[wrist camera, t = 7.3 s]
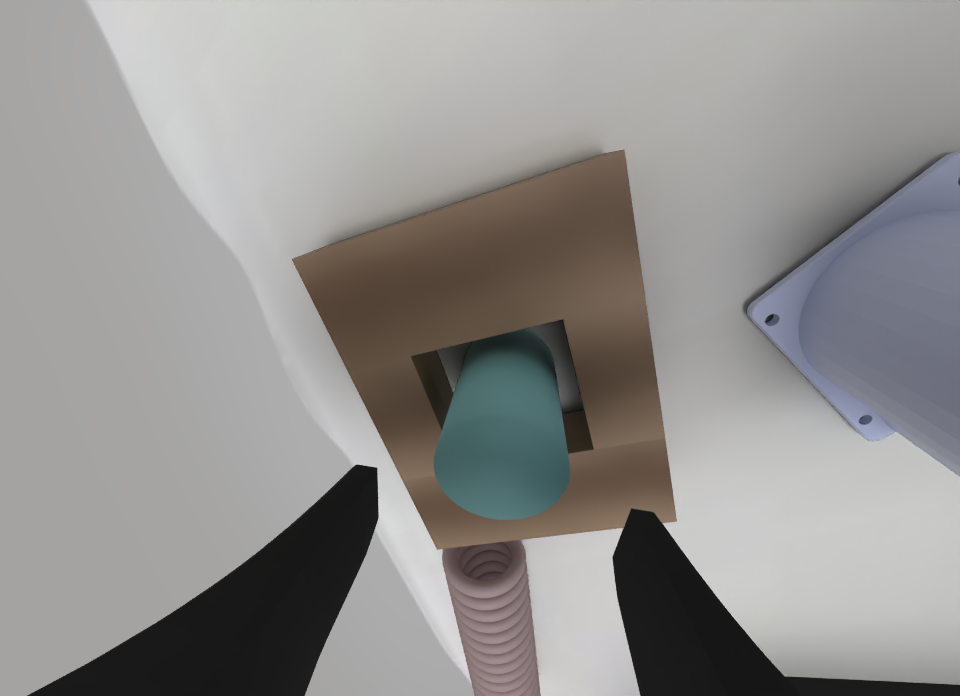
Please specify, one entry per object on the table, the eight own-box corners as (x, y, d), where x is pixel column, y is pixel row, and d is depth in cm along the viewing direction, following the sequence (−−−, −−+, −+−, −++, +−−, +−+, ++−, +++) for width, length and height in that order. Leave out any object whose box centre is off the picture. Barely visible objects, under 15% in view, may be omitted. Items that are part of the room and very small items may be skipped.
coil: (546, 749, 26) (528, 580, 19) (479, 753, 26) (435, 587, 19) (537, 669, 30) (520, 505, 23) (480, 673, 31) (444, 512, 23)
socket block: (656, 474, 20) (676, 521, 18) (447, 504, 23) (437, 549, 20) (605, 153, 14) (624, 149, 11) (329, 244, 17) (291, 259, 14)
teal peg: (573, 368, 18) (599, 474, 12) (510, 420, 20) (504, 538, 14) (506, 308, 17) (495, 388, 11) (446, 369, 19) (407, 469, 13)
